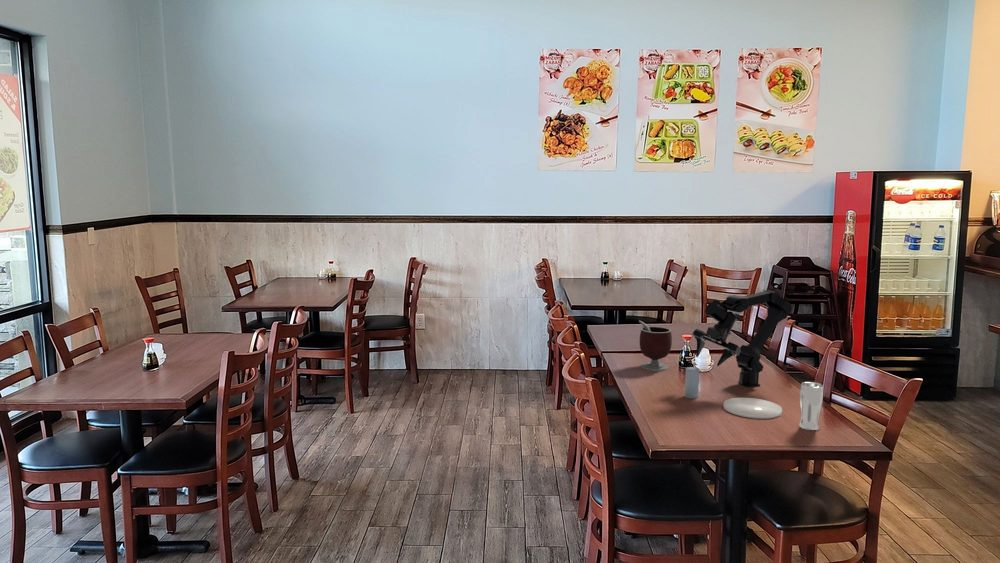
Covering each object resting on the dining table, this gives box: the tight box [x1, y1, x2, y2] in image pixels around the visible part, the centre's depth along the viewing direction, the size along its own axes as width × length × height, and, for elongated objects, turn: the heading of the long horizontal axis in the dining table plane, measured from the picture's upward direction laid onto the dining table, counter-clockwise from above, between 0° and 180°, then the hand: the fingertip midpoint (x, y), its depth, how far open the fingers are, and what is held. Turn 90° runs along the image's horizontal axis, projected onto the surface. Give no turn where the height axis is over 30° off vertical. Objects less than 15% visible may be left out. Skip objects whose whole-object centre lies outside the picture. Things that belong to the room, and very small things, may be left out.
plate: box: [722, 397, 783, 420], centre depth 253 cm, size 20×20×1 cm
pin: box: [684, 366, 700, 399], centre depth 267 cm, size 5×5×11 cm
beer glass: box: [798, 381, 824, 431], centre depth 234 cm, size 7×7×15 cm
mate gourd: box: [638, 320, 673, 372], centre depth 309 cm, size 16×14×20 cm
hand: (706, 361), depth 273 cm, fingers open, 9 cm apart
